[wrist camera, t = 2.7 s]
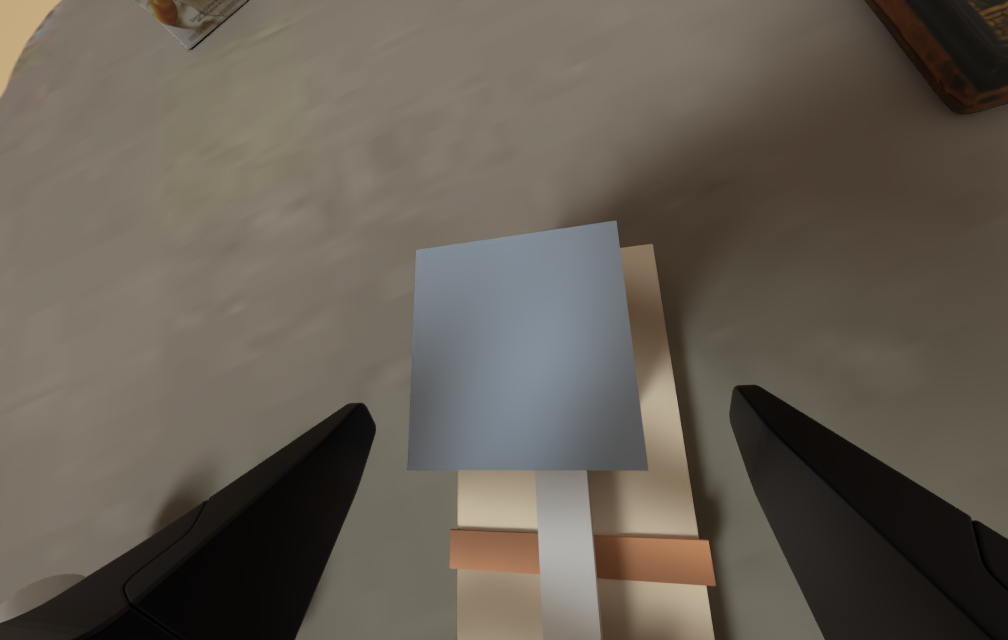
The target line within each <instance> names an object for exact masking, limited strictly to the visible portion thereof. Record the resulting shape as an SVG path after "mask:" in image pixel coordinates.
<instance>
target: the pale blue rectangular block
mask: <svg viewBox="0 0 1008 640" xmlns="http://www.w3.org/2000/svg"><path fill="white" fill-rule="evenodd" d="M407 470H616V471H649V470H648V462H647V454H646V446H645V439H644V431H643V423H642V415H641V407H640V400H639V392H638V384H637V376H636V369H635V361H634V353H633V345H632V338H631V330H630V322H629V314H628V307H627V299H626V291H625V283H624V276H623V268H622V260H621V252H620V244H619V237H618V229H617V221H609V222H602V223H596V224H589V225H582V226H576V227H569V228H562V229H555V230H549V231H542V232H535V233H528V234H522V235H515V236H508V237H501V238H495V239H488V240H481V241H475V242H468V243H461V244H454V245H448V246H441V247H434V248H427V249H421V250H416V272H415V296H414V321H413V345H412V370H411V394H410V419H409V443H408V468H407Z"/></svg>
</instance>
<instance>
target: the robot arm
mask: <svg viewBox="0 0 1008 640" xmlns="http://www.w3.org/2000/svg"><path fill="white" fill-rule="evenodd" d="M729 418H730V423H731V427H732V429H733V432H734V435H735V438H736V441H737V444H738V447H739V450H740V453H741V455H742V458H743V461H744V464H745V467H746V470H747V473H748V476H749V478H750V481H751V484H752V487H753V489H754V492H755V494H756V496H757V499H758V501H759V503H760V505H761V507H762V509H763V512H764V514H765V516H766V518H767V520H768V522H769V524H770V526H771V528H772V530H773V532H774V534H775V537H776V539H777V541H778V543H779V545H780V547H781V549H782V551H783V553H784V555H785V557H786V559H787V562H788V564H789V566H790V568H791V570H792V572H793V574H794V576H795V578H796V580H797V582H798V584H799V587H800V589H801V591H802V593H803V595H804V597H805V599H806V601H807V603H808V605H809V607H810V610H811V612H812V614H813V616H814V618H815V620H816V622H817V624H818V626H819V628H820V630H821V632H822V635H823V637H824V639H825V640H1008V539H1007V538H1005V537H1003V536H1002V535H1000V534H999V533H997V532H995V531H994V530H992V529H990V528H989V527H987V526H986V525H984V524H982V523H981V522H979V521H976V520H973V521H972V519H971V517H970V516H969V515H967V514H966V513H964V512H963V511H961V510H959V509H958V508H956V507H954V506H953V505H951V504H950V503H948V502H946V501H945V500H943V499H941V498H940V497H938V496H937V495H935V494H933V493H932V492H930V491H929V490H927V489H925V488H924V487H922V486H920V485H919V484H917V483H916V482H914V481H912V480H911V479H909V478H907V477H906V476H904V475H903V474H901V473H899V472H898V471H896V470H894V469H893V468H891V467H890V466H888V465H886V464H885V463H883V462H881V461H880V460H878V459H877V458H875V457H873V456H872V455H870V454H868V453H867V452H865V451H864V450H862V449H860V448H859V447H857V446H856V445H854V444H852V443H851V442H849V441H847V440H846V439H844V438H843V437H841V436H839V435H838V434H836V433H834V432H833V431H831V430H830V429H828V428H826V427H825V426H823V425H821V424H820V423H818V422H817V421H815V420H813V419H812V418H810V417H808V416H807V415H805V414H804V413H802V412H800V411H799V410H797V409H795V408H794V407H792V406H791V405H789V404H787V403H786V402H784V401H783V400H781V399H779V398H778V397H776V396H774V395H773V394H771V393H770V392H768V391H766V390H765V389H763V388H761V387H760V386H757V385H738V386H735V387H734V389H733V392H732V398H731V405H730V412H729ZM375 433H376V425H375V422H374V420H373V418H372V416H371V414H370V412H369V410H368V408H367V407H366V405H365V404H363V403H350V404H347V405H345V406H344V407H342V408H341V409H339V410H338V411H337V412H335V413H334V414H332V415H331V416H329V417H328V418H326V419H325V420H323V421H322V422H320V423H319V424H317V425H316V426H314V427H313V428H312V429H310V430H309V431H307V432H306V433H304V434H303V435H301V436H300V437H298V438H297V439H295V440H294V441H292V442H291V443H289V444H288V445H287V446H285V447H284V448H282V449H281V450H279V451H278V452H276V453H275V454H273V455H272V456H270V457H269V458H267V459H266V460H264V461H263V462H262V463H260V464H259V465H257V466H256V467H254V468H253V469H251V470H250V471H248V472H247V473H245V474H244V475H242V476H241V477H239V478H238V479H237V480H235V481H234V482H232V483H231V484H229V485H228V486H226V487H225V488H223V489H222V490H220V491H219V492H217V493H216V494H214V495H213V496H212V497H210V498H209V500H206V501H204V502H203V503H201V504H200V505H198V506H197V507H195V508H194V509H192V510H191V511H189V512H188V513H186V514H185V515H183V516H182V517H180V518H179V519H177V520H176V521H174V522H173V523H171V524H170V525H168V526H167V527H165V528H164V529H162V530H161V531H159V532H158V533H156V534H154V535H153V536H151V537H150V538H148V539H147V540H145V541H143V542H142V543H140V544H139V545H137V546H136V547H134V548H132V549H131V550H129V551H128V552H126V553H124V554H123V555H121V556H120V557H118V558H116V559H115V560H113V561H112V562H110V563H108V564H107V565H105V566H104V567H102V568H100V569H99V570H97V571H95V572H94V573H92V574H91V575H89V576H87V577H86V578H84V579H83V580H81V581H79V582H78V583H76V584H75V585H73V586H71V587H70V588H68V589H67V590H65V591H63V592H62V593H60V594H58V595H57V596H55V597H54V598H52V599H50V600H48V601H47V602H45V603H43V604H42V605H40V606H38V607H36V608H34V609H32V610H30V611H28V612H26V613H23V614H21V615H19V616H16V617H14V618H12V619H9V620H7V621H4V622H1V623H0V640H295V638H296V636H297V633H298V631H299V629H300V626H301V624H302V621H303V619H304V617H305V614H306V612H307V609H308V607H309V605H310V602H311V600H312V597H313V595H314V593H315V590H316V588H317V585H318V583H319V581H320V578H321V576H322V574H323V571H324V569H325V566H326V564H327V562H328V559H329V557H330V554H331V552H332V550H333V547H334V545H335V542H336V540H337V538H338V535H339V533H340V530H341V528H342V526H343V523H344V521H345V519H346V516H347V514H348V511H349V509H350V507H351V504H352V502H353V499H354V497H355V495H356V492H357V489H358V487H359V484H360V481H361V478H362V475H363V472H364V469H365V465H366V462H367V459H368V456H369V452H370V449H371V446H372V443H373V440H374V436H375Z"/></svg>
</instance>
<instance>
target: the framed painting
mask: <svg viewBox="0 0 1008 640" xmlns="http://www.w3.org/2000/svg"><path fill="white" fill-rule="evenodd" d="M865 2H866V3H867V4H868V5H869V6H870V8H871V9H872V10H873V12H874V13H875V14H876V15H877V17H878V18H879V19H880V21H881V22H882V23H883V24H884V26H885V27H886V28H887V30H888V31H889V32H890V34H891V35H892V36H893V37H894V39H895V40H896V41H897V43H898V44H899V45H900V47H901V48H902V49H903V51H904V52H905V53H906V55H907V56H908V57H909V59H910V60H911V61H912V62H913V64H914V65H915V66H916V67H917V69H918V70H919V71H920V73H921V74H922V75H923V77H924V78H925V79H926V81H927V82H928V83H929V85H930V86H931V87H932V88H933V90H934V91H935V92H936V93H937V95H938V96H939V97H940V98H941V100H942V101H943V102H944V103H945V104H946V105H947V106H948V107H949V108H950V109H952V110H953V111H954V112H956V113H958V114H969V113H974V112H979V111H983V110H986V109H989V108H993V107H996V106H1000V105H1003V104H1006V103H1008V0H865Z"/></svg>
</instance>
